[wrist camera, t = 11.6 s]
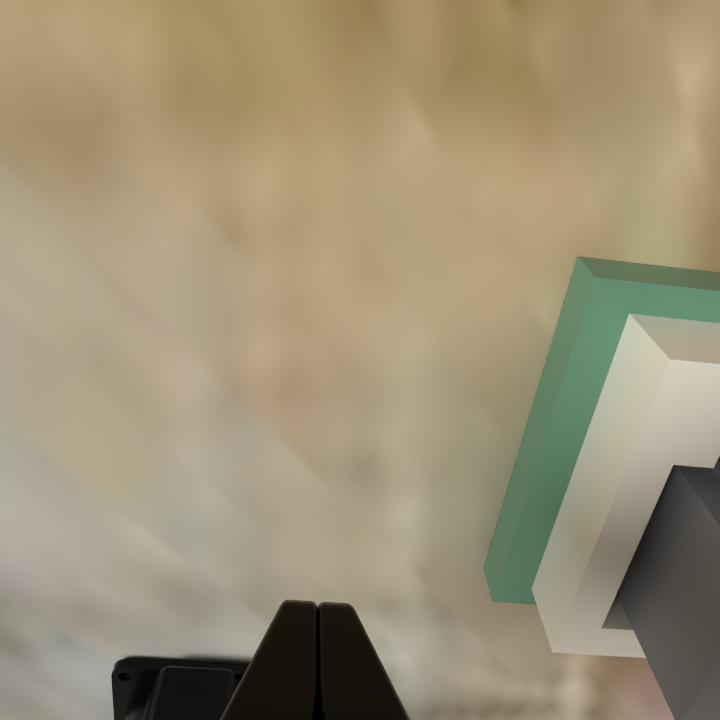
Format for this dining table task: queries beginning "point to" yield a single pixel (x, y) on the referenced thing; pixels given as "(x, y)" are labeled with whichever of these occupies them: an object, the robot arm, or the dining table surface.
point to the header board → (607, 445)
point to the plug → (680, 592)
